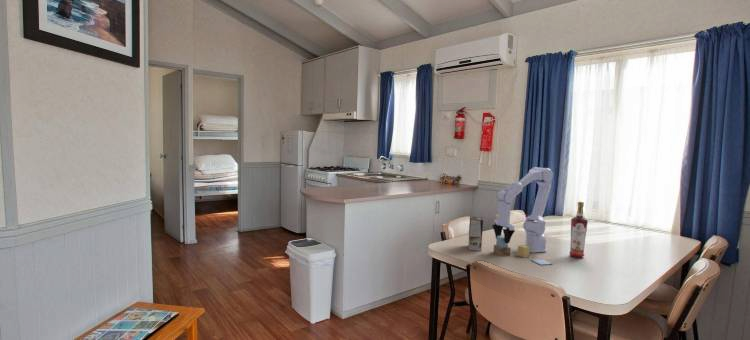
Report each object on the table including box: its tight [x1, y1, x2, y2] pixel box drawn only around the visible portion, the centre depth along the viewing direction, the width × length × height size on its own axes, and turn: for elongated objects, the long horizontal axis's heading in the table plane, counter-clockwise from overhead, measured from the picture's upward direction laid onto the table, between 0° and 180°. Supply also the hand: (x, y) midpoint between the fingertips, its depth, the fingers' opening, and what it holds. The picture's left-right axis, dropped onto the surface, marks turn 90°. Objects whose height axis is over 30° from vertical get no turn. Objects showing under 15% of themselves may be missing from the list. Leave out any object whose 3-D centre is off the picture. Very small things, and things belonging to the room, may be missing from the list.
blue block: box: [495, 235, 509, 248], centre depth 189 cm, size 4×4×5 cm
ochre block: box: [516, 244, 531, 258], centre depth 187 cm, size 4×4×5 cm
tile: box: [530, 258, 554, 266], centre depth 177 cm, size 7×7×1 cm
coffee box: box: [468, 216, 484, 252], centre depth 197 cm, size 9×6×16 cm
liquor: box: [568, 201, 589, 259], centre depth 187 cm, size 7×7×28 cm
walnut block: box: [493, 244, 512, 256], centre depth 189 cm, size 6×6×4 cm
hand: (502, 240), depth 189 cm, fingers open, 7 cm apart
